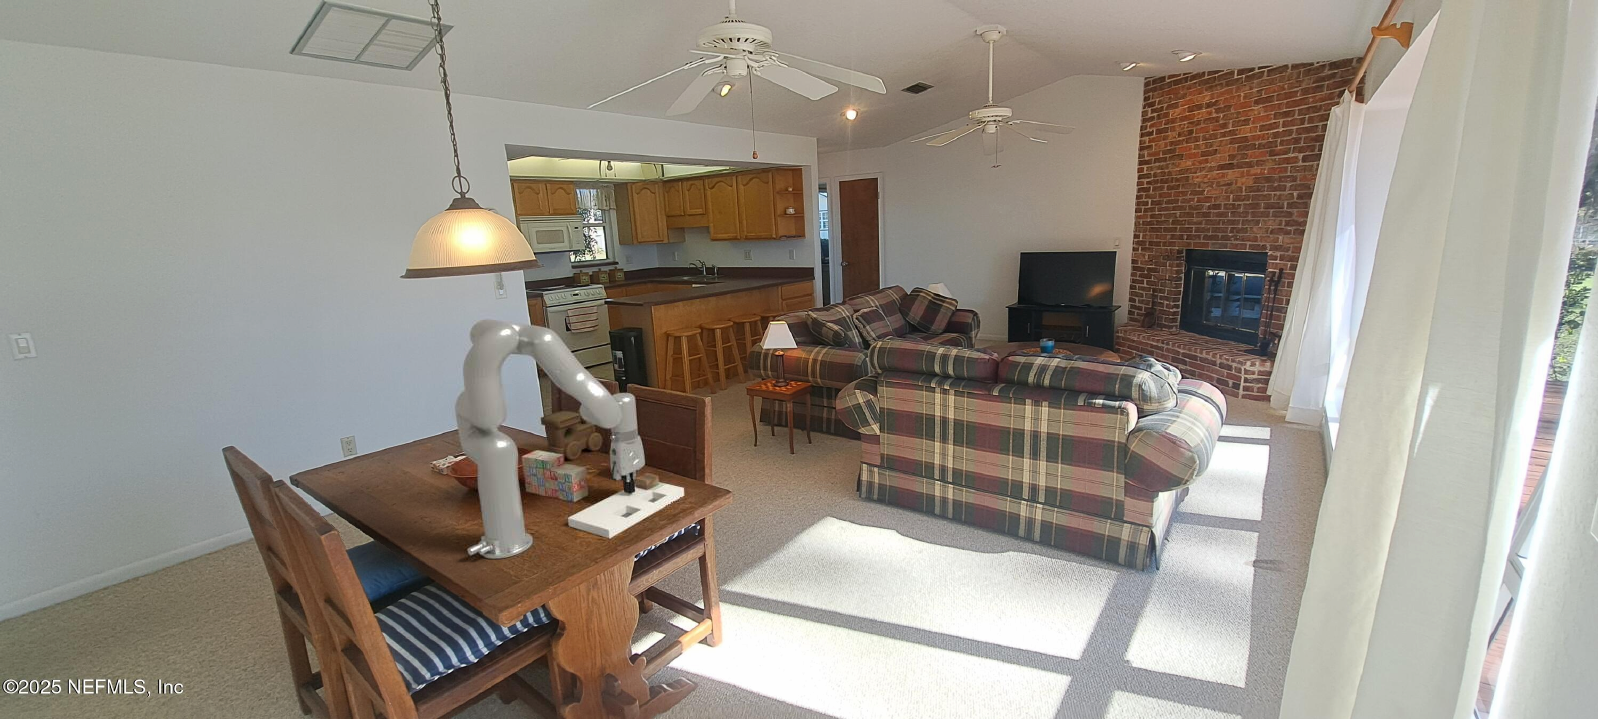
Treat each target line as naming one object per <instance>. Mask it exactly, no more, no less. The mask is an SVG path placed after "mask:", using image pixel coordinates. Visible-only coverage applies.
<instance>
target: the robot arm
mask: <svg viewBox="0 0 1598 719" xmlns="http://www.w3.org/2000/svg"><path fill="white" fill-rule="evenodd" d="M469 339H470V341H471V344H472V346H471V347H470V349H469V351H467V354H466V355H465V358H464V362H463V363H462V377H463V385H464V386H463V387H464V390H462V392H461V393H460V394H459V395H458V396H457V398H456V401H455V404H454V405H455V406H454V412H455V418H456V419H455V420H456V425H457V429H458V437H459V441H460V445H461V448H462V451H463V454H464V455H465V456H466V457H467V458H468V459H470V460H471V461H473V462H474V463H475V464H476V465H477V490H478V497H479V502H480V510H481V517H482V523H483V530H484V535H483V536H481V537H480V538H481V539H480V540H481V541H479V542H478V544H474V545H473V546H470V547H468V548H467V553H468V555H469V556H473V555H475V554H477V553H479V554H480V555H481V556H483V557H484V558H487V559H495V560H496V559H505V558H509V557H514V556H516V555H519V554H521V553H523V552H525V551H526V550H528V549H529V548H530V547H531V546H532V544H533V536H532V535H531V534H529V533H528V532H526V529H525V527H526V526H525V520H524V513H523V504H522V497H521V489H520V482H519V469H518V468H519V464H518V463H519V453H518V452H519V451H518V447H517V445H516V443H515V441H514V440H513V439H512V438H511V437H509V436H508V435H507V434H505V433H504V432H501V431H499V430H498V428H499V427H500V426H502V425H503V423H504V422H505V421H506V418H507V413H508V412H507V402H506V397H505V393H504V386H503V378H502V369H503V365H504V363H505V361H506V359H507V358H508V357H509V356H510V355H523V356H528V357H532V359H534V360H535V362H536V363H537V364H538V365H539V366H540V368H541V369H542V370H543V371H544V372H545V373H546V374H547V376H548V377H549V378H550V379H551V382H553V384H555V385H556V387H557V388H559V389H560V390H562V391H563V392H564V393H566V394H567V395H569V396H571V397H573V398H574V399H576V400H577V401H578V402H579V403H581V405H580V407H579V409H580V414H581V416H582V418H583V419H584V420H586V421H587V422H590V423H592V424H594V426H598V427H600V428H603V429H608V430H609V429H611V430H610V431H611V435H610V438H609V439H610V441H611V442H610V451H609V459H610V472H611V474H612V473H614V476H613V478H614V479H617V480H616V481H619V480H621V481H622V486H623V490H624V492H625V493H629V494H632V493H634V492H635V484H636V482H635V478H637V473H638V472H639V471H640V470H641V469H642V468H643V467H644V466H645V464H646V460H645V459H646V458H645V452H644V451H645V450H644V447H643V442H642V438H641V436H640V435H639V433H638V432H639V431H638V419H637V418H638V417H637V408H636V407H637V406H636V396H635V395H633V394H632V393H629V392H619V393H615V394H613V395H612V394H611V393H610V392H609V390H607V388H606V387H605V386H604V385H603V384H602V383H601V382H600V381H599V380H598V379H596V377H594V376H593V375H592V374H591V373H590V372H589V371H588V370H587V369H586V368H585V367H584V366H583V365H582V364H581V363H580V362H579V360H578V359H577V358H576V356H575V355H574V354H573V353H572V351H571V350H570V349H569V347H568V346H567V345H566V344H565V343H564V341H563V340H562V339H561V338H560V336H559V335H558V334H557V333H556V332H555V331H554V330H552V329H550V328H548V327H543V326H540V325H534V324H523V323H515V322H509V321H502V320H496V319H487V318H486V319H482V320H479V321H477V322H476V323H475V324H474V325H472V327H471V329H470V331H469ZM614 479H613V480H614ZM618 479H619V480H618Z"/></svg>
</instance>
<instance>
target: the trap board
mask: <svg viewBox="0 0 1598 719" xmlns="http://www.w3.org/2000/svg"><path fill="white" fill-rule="evenodd" d="M684 496H685V488H684V487H681V486H677V485H672V484H670V483H669V484H668V483H664V482H660V481H659V485H657V486H655V487H653V488H651V489H649V490H644V489H640V488H637V487H636V483H635V492H634V493H632V494H629V493H625V492H624V489H623V490H621V491H618V492H617V493H614V494H612V495H610V496H609V497H607V498H605V499H603V500H601V501H599V502H597V503H595V504H592V505H591V506H588V507H587V508H584V509H583V510H581V511H579V512H577V513H574V514H573V515H571V516H569V517H568V518H567V522H568V526H569V527H571V528H574V529H577V530H580V531H584V532H587V533H590V534H594V535H597V536H600V537H604V538H607V539H611V538H613V537H614V536H616V535H618V534H620V533H621V532H623V531H625V530H627V529H629V528H630V527H632V526H634V525H636V524H637V523H639V522H641V521H642V520H644V519H645V518H647V517H650V516H651V515H653V514H654V513H656V512H658V511H660V510H662V509H664V508H665V507H666V505H667V506H668V504H669V505H670V504H672V503H674V502H675V501H677V500H679V499H681V498H683V497H684ZM680 497H681V498H680ZM673 501H674V502H673ZM671 502H672V503H671Z"/></svg>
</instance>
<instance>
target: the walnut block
mask: <svg viewBox="0 0 1598 719" xmlns="http://www.w3.org/2000/svg"><path fill="white" fill-rule="evenodd" d="M634 482H635V484H636V487H637V488H640V489H644V490H649V489H651V488H653V487H655V486H657V485H659V482H660V480H659V475H658V474H657V475H656V474H653V473H649V472H646V473H644V474H641V475H639V476H636V478H635V479H634Z"/></svg>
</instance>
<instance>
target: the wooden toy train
mask: <svg viewBox="0 0 1598 719" xmlns="http://www.w3.org/2000/svg"><path fill="white" fill-rule="evenodd" d="M540 424H541V425H542V426H544V431H545V435H546V436H545V437H546V441H547V443H548V444H547V452H550V453H556V454H562V455H564V458H566V459H568V460H569V461H575V460H577V459H578V458H579V457H580V456H581V453H582V450H584V449H587V448H588V450H589V451H591V452H596V451H598V450H599V449H601V446H602V445H603V437H602V435H601V434H600V433H599V432H596V427H595V424H592V423H590V422H587V421H586V420H584V419H583V418H582V416H581V414H580V408H579V409H578V411H577V412H575V411H568V410H560V411H556V412H552V413H549V414H547V415H543V416H542V417H540Z"/></svg>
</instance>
